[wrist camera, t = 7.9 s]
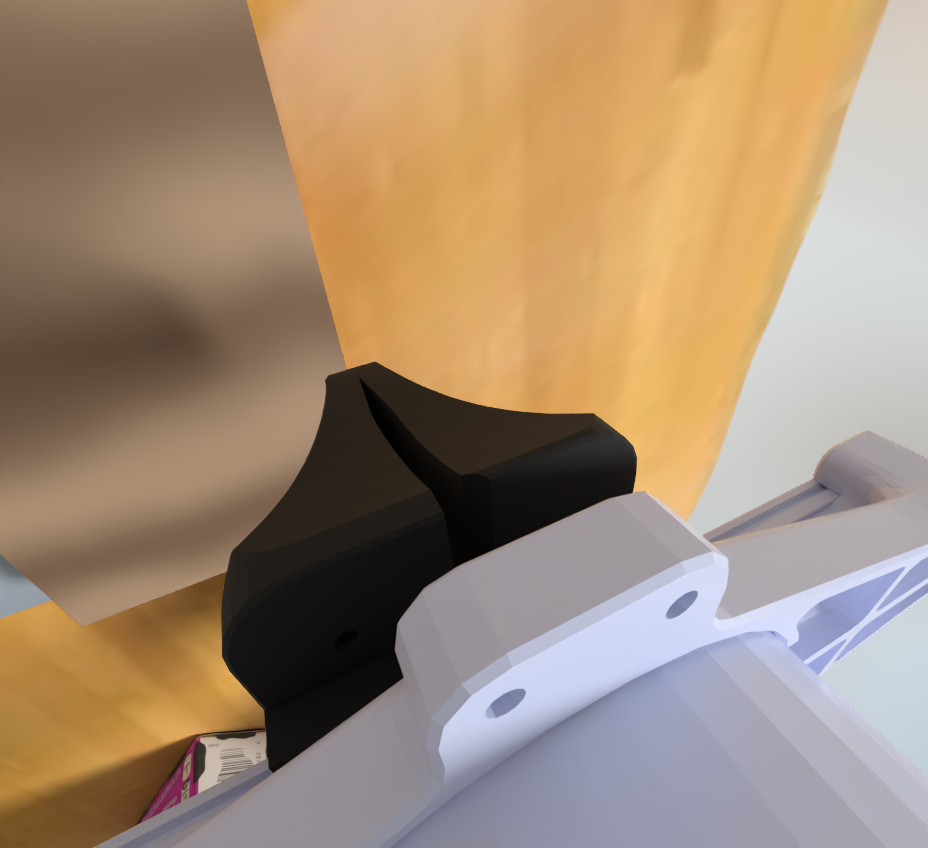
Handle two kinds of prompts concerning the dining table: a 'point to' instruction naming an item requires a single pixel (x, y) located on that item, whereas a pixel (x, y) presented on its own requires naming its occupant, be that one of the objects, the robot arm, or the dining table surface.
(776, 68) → the dining table surface
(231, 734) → the candy bar box
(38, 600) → the mat
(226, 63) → the brown flat block
